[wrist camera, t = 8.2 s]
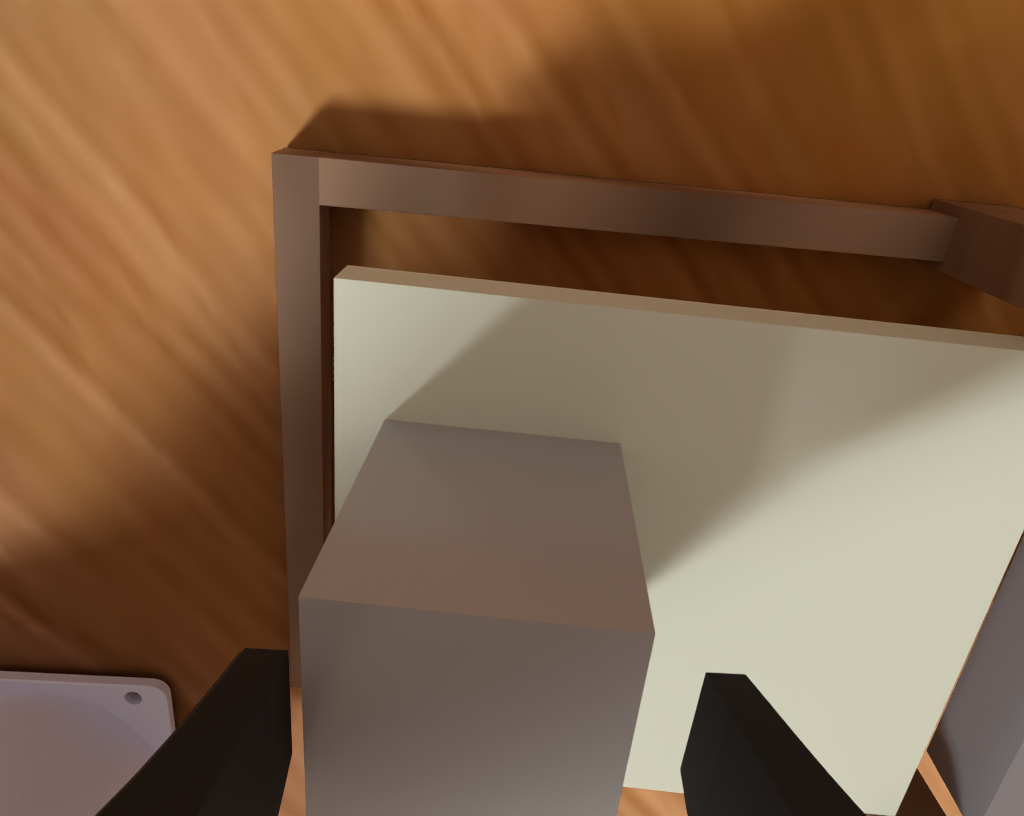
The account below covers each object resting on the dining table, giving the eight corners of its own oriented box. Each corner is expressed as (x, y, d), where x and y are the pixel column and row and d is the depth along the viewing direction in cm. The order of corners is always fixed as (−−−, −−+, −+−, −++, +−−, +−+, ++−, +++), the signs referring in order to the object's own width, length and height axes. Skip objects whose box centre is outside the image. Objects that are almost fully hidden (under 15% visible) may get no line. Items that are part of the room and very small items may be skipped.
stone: (380, 607, 16) (307, 836, 11) (384, 419, 14) (298, 596, 10) (588, 629, 16) (604, 868, 11) (620, 443, 14) (655, 633, 9)
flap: (352, 701, 20) (328, 779, 18) (356, 257, 15) (322, 288, 13) (1108, 784, 20) (1178, 873, 18) (1364, 363, 15) (1505, 413, 13)
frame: (300, 663, 23) (227, 896, 17) (285, 135, 17) (155, 178, 10) (1011, 700, 25) (1198, 925, 18) (1246, 228, 18) (1663, 316, 12)
